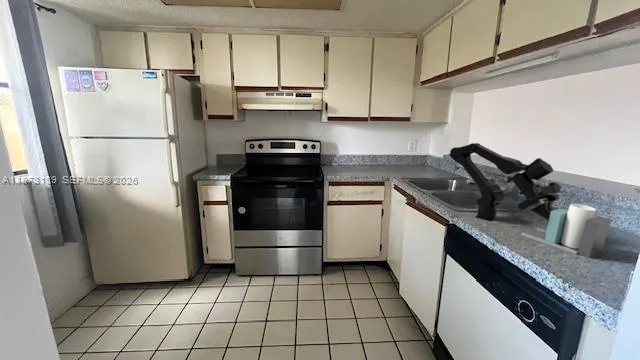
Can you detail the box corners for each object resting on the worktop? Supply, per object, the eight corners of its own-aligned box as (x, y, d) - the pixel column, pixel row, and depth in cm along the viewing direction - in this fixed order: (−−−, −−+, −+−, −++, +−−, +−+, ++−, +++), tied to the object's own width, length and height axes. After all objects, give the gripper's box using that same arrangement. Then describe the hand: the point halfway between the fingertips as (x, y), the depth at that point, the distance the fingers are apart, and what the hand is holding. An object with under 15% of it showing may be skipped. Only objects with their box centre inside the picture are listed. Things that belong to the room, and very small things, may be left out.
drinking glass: (583, 246, 97) (597, 207, 93) (581, 252, 92) (595, 212, 88) (559, 239, 101) (571, 202, 97) (555, 244, 97) (568, 205, 93)
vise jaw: (544, 241, 100) (550, 211, 97) (557, 237, 104) (564, 207, 101) (553, 245, 97) (561, 213, 94) (567, 240, 101) (574, 210, 99)
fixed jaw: (521, 234, 106) (527, 205, 103) (537, 230, 111) (543, 202, 108) (587, 258, 88) (597, 224, 86) (603, 251, 93) (612, 218, 91)
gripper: (533, 177, 97) (564, 215, 90) (558, 173, 106) (589, 208, 98) (506, 192, 106) (532, 228, 99) (532, 188, 114) (558, 221, 107)
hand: (554, 221), depth 101 cm, fingers closed, pressing on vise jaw
